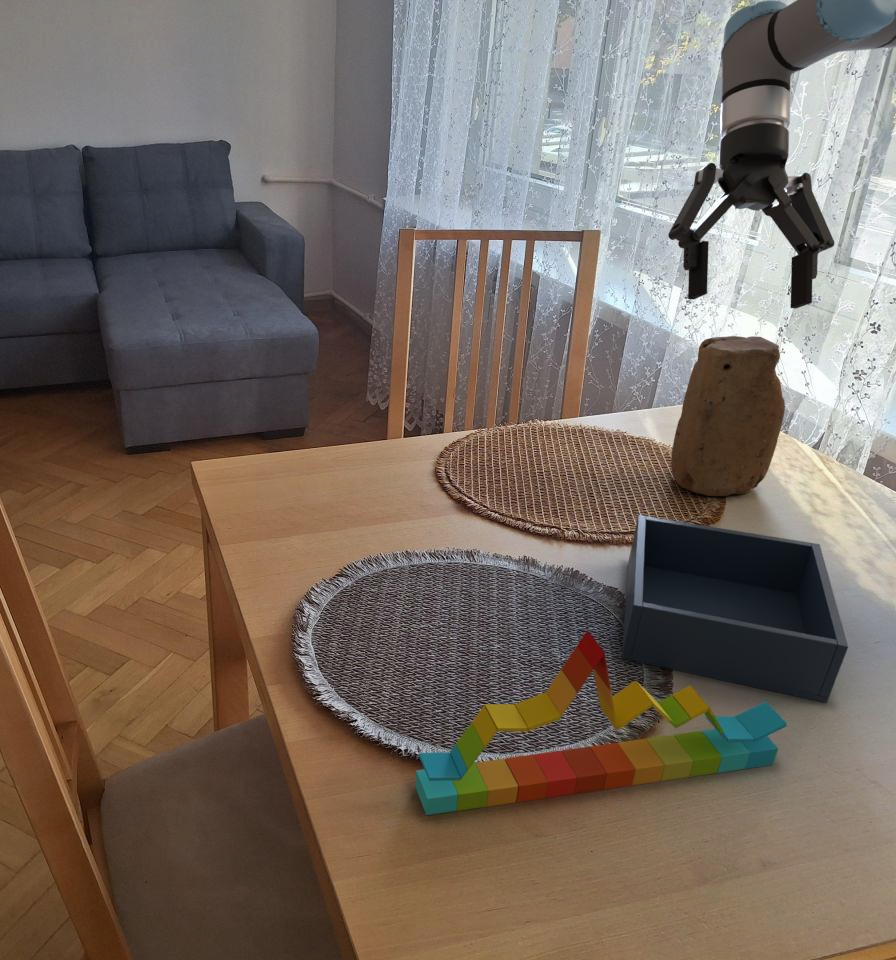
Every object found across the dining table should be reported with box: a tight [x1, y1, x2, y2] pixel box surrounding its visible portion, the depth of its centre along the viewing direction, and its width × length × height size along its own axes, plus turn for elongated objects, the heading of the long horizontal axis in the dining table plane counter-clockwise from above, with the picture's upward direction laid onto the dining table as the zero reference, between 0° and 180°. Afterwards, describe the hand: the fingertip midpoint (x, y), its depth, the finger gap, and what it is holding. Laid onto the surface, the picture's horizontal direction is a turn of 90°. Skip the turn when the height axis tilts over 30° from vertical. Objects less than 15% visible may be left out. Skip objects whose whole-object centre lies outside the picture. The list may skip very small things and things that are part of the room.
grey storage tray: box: [621, 514, 849, 703], centre depth 87 cm, size 18×18×7 cm
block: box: [670, 335, 786, 497], centre depth 109 cm, size 11×8×20 cm
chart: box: [414, 630, 788, 816], centre depth 69 cm, size 30×3×15 cm, turn 98°
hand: (749, 301), depth 106 cm, fingers open, 13 cm apart
